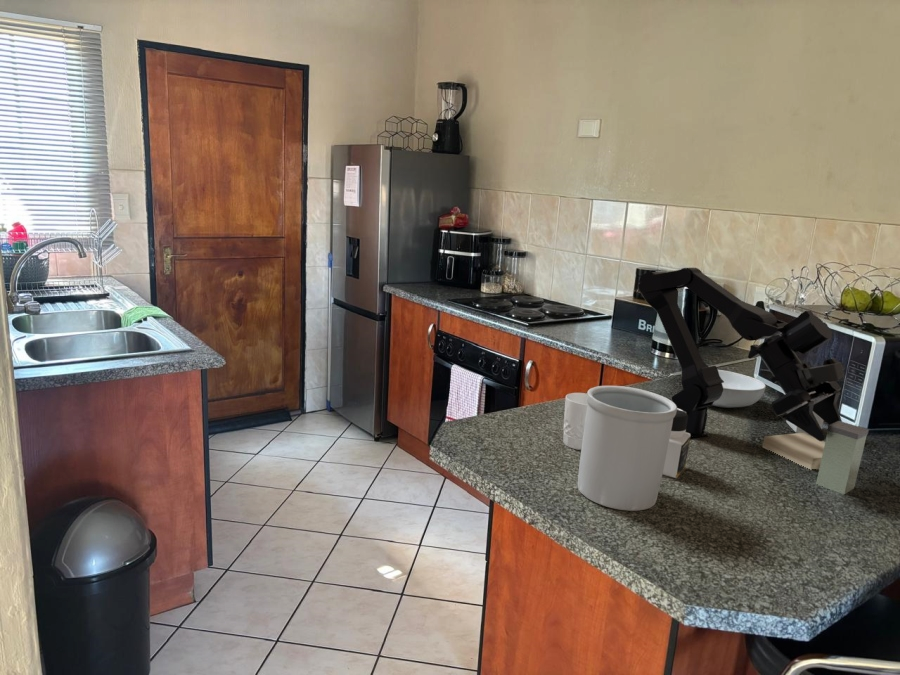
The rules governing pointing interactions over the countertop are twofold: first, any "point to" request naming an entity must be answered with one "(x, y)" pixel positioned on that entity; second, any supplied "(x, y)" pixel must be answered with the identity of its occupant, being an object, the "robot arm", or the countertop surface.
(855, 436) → the tea tin
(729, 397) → the serving bowl
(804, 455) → the wooden block
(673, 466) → the medicine bottle
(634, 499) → the utensil holder
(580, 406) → the white cup
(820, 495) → the countertop surface
